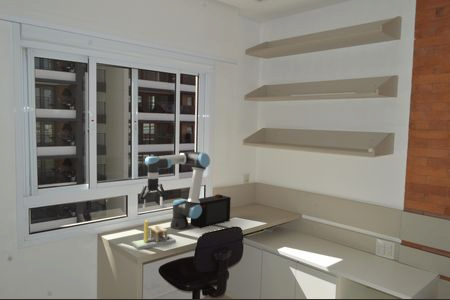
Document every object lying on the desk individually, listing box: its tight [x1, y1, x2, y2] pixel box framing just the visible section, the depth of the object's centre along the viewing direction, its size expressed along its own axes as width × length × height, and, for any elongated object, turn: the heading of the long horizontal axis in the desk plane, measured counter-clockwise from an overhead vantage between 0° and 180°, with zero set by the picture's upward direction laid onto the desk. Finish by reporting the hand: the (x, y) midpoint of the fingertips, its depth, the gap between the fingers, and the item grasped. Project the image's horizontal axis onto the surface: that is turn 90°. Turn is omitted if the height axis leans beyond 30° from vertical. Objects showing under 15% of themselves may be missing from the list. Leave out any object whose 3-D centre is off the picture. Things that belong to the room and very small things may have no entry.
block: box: [154, 231, 164, 238], centre depth 249 cm, size 5×5×5 cm
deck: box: [131, 234, 176, 251], centre depth 247 cm, size 29×12×2 cm, turn 125°
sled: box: [143, 220, 165, 242], centre depth 247 cm, size 14×7×15 cm, turn 125°
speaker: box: [190, 193, 232, 229], centre depth 302 cm, size 15×35×24 cm, turn 134°
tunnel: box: [149, 225, 168, 243], centre depth 249 cm, size 8×12×8 cm, turn 35°
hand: (152, 207), depth 246 cm, fingers open, 13 cm apart
